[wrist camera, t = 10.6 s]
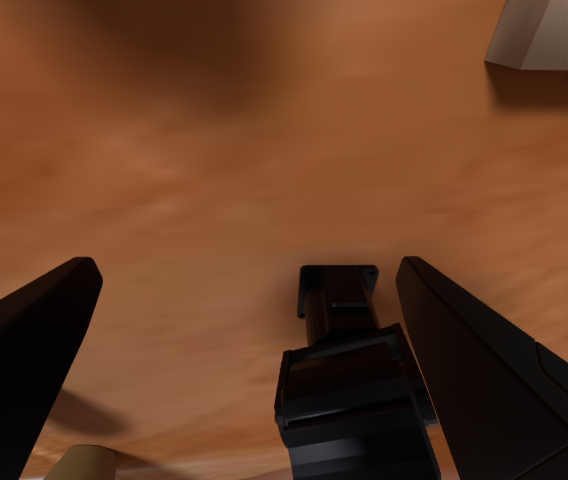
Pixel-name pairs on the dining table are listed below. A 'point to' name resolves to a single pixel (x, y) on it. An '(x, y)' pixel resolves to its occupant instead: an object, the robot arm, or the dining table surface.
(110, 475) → the plant pot
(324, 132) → the dining table surface
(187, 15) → the dining table surface
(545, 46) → the grayish brown panel
